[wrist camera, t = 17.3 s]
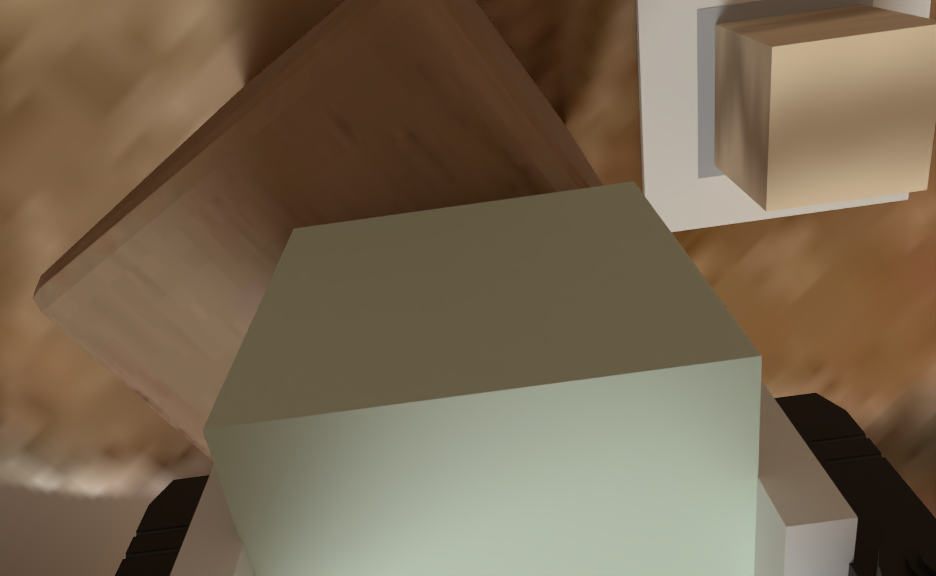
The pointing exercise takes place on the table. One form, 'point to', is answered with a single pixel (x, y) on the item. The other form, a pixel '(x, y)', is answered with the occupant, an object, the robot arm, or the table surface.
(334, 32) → the wooden block
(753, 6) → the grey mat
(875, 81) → the maple cube
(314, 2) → the table surface
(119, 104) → the table surface
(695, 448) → the sage cube
